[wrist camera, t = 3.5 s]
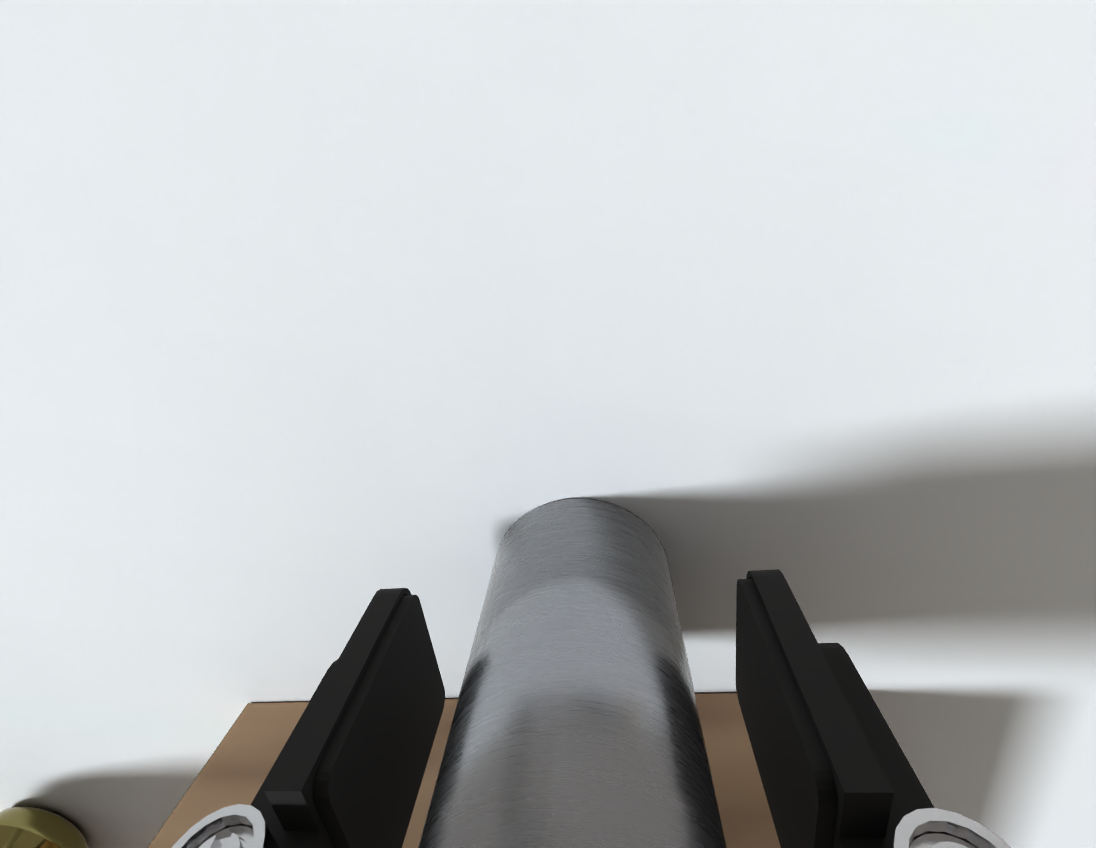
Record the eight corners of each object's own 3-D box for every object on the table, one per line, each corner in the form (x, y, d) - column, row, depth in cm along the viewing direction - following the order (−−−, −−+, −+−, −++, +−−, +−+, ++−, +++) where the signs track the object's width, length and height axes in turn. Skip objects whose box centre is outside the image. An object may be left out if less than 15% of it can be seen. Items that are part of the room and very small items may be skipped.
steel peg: (481, 505, 12) (294, 1026, 4) (663, 491, 11) (802, 1057, 4) (510, 640, 13) (409, 1192, 6) (671, 633, 13) (779, 1229, 5)
